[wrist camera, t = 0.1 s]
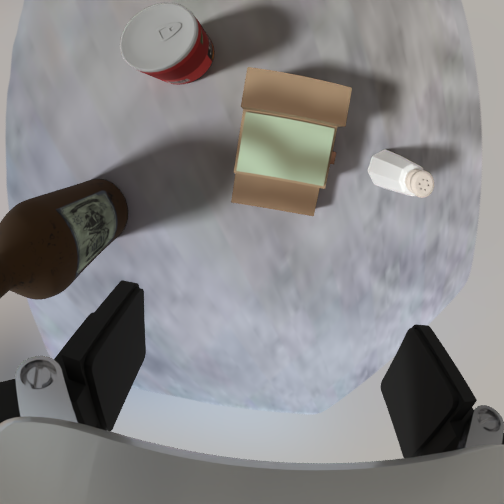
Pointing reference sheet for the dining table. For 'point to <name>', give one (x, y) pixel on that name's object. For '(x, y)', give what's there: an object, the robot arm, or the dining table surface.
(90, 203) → the olive oil
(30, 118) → the dining table surface
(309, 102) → the stand
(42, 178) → the dining table surface
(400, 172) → the pepper shaker
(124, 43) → the canned food
